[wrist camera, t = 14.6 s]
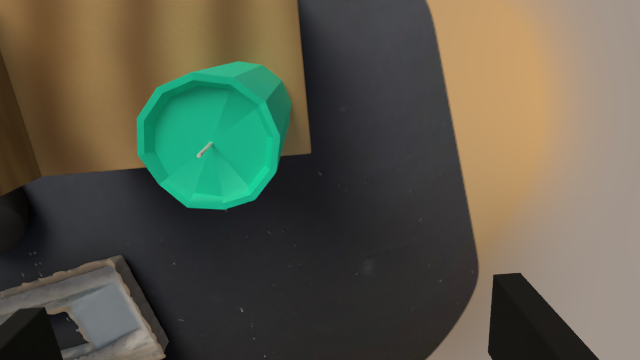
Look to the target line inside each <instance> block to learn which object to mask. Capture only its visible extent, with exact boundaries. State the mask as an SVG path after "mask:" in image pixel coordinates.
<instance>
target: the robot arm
mask: <svg viewBox="0 0 640 360" xmlns="http://www.w3.org/2000/svg"><path fill="white" fill-rule="evenodd" d="M488 353H489V355H490V356H491V358H492V360H599V359H598V358H597V357H596V356H595V355H594V354H593V352H592V351H591V350H590V349H589V348H588V347H587V346H586V345H585V344H584V342H583V341H582V340H581V339H580V338H579V337H578V336H577V335H576V334H575V333H574V331H573V330H572V329H571V328H570V327H569V326H568V325H567V324H566V323H565V322H564V321H563V319H562V318H561V317H560V316H559V315H558V314H557V313H556V312H555V311H554V310H553V308H552V307H551V306H550V305H549V304H548V303H547V302H546V301H545V300H544V299H543V297H542V296H541V295H540V294H539V293H538V292H537V291H536V290H535V289H534V288H533V287H532V285H531V284H530V283H529V282H528V281H527V280H526V279H525V278H524V277H523V276H522V274H521V273H511V274H497V275H493V289H492V304H491V317H490V331H489V345H488ZM0 360H63V357H62V354H61V351H60V349H59V346H58V343H57V340H56V337H55V334H54V331H53V328H52V326H51V323H50V320H49V317H48V314H47V311H46V308H45V307H37V308H23V309H18V310H17V311H16V312H15V313H14V314H13V315H12V316H10V317H9V318H8V319H7V320H6V321H5V322H4V323H3V324H1V325H0Z"/></svg>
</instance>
